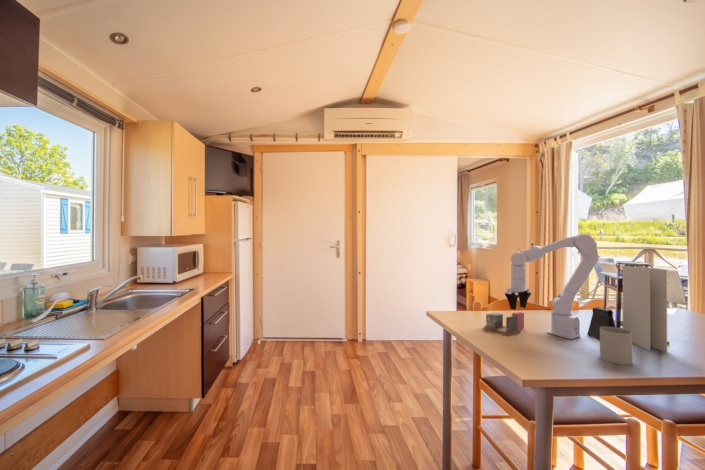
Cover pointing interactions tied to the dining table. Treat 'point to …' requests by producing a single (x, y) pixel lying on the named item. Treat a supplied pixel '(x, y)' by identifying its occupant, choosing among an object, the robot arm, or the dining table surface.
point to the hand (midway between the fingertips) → (518, 308)
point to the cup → (616, 345)
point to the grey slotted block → (501, 324)
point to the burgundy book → (519, 319)
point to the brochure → (645, 306)
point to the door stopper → (600, 321)
